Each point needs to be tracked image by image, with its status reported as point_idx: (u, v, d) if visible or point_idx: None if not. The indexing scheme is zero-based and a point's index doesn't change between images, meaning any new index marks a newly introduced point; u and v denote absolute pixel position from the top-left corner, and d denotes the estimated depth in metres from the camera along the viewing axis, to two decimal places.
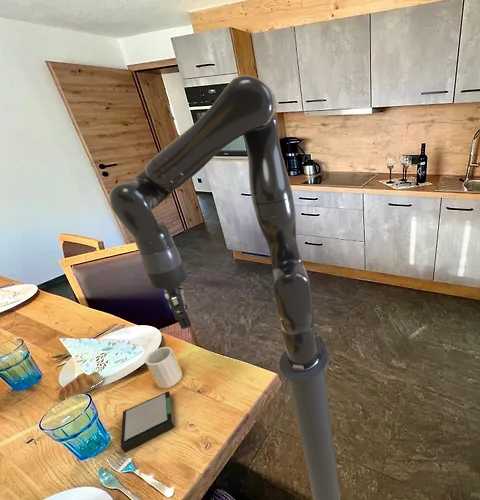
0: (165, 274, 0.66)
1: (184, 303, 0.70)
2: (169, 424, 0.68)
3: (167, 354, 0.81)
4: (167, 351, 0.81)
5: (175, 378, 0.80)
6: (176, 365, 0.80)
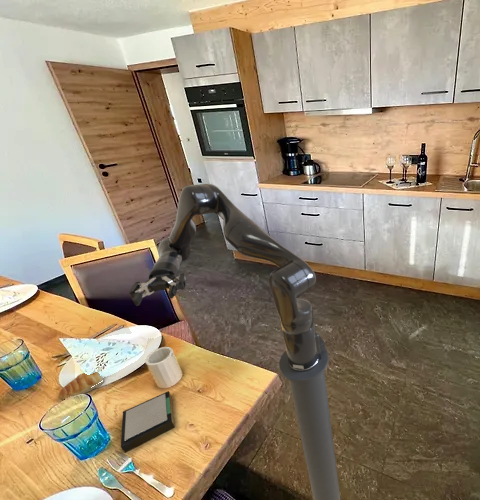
0: None
1: None
2: (169, 424, 0.68)
3: (167, 354, 0.81)
4: (167, 351, 0.81)
5: (175, 378, 0.80)
6: (176, 365, 0.80)
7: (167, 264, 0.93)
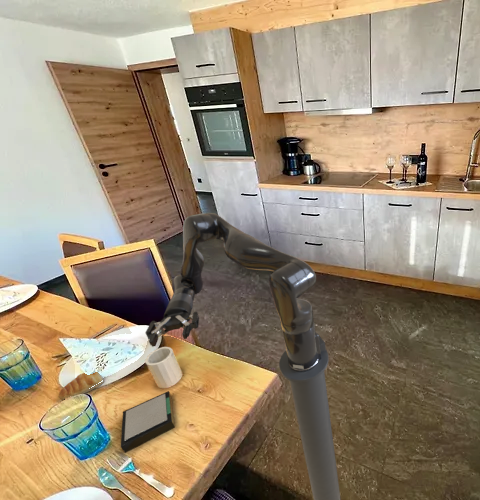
0: None
1: None
2: (169, 424, 0.68)
3: (167, 354, 0.81)
4: (167, 351, 0.81)
5: (175, 378, 0.80)
6: (176, 365, 0.80)
7: (181, 302, 0.97)
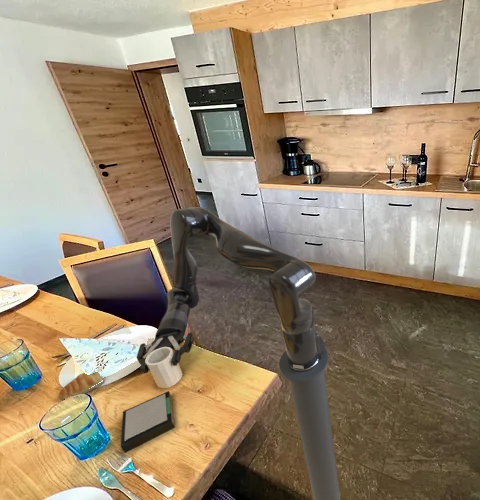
0: None
1: None
2: (169, 424, 0.68)
3: (167, 354, 0.81)
4: (167, 351, 0.81)
5: (175, 378, 0.80)
6: (176, 365, 0.80)
7: (174, 321, 0.89)
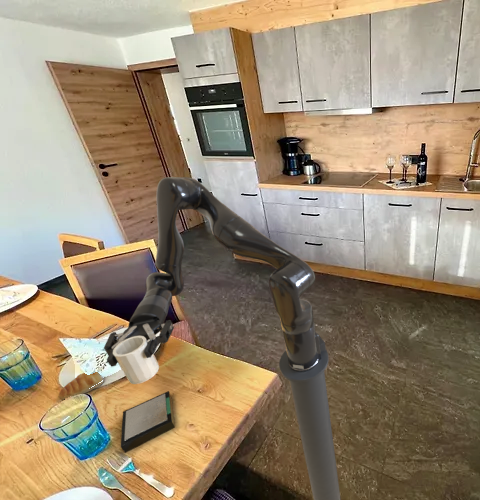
0: None
1: None
2: (169, 424, 0.68)
3: (141, 344, 0.70)
4: (140, 341, 0.69)
5: (149, 372, 0.69)
6: (150, 357, 0.69)
7: (152, 307, 0.77)
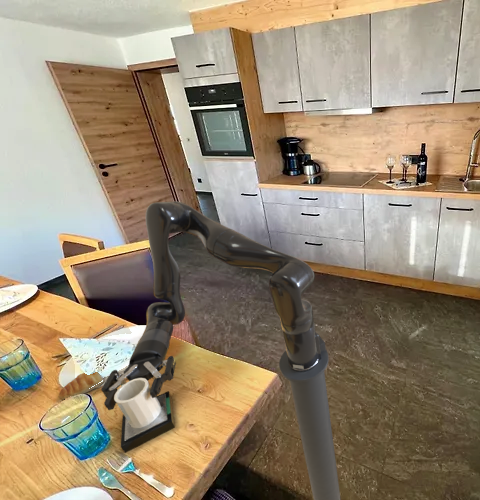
0: None
1: None
2: (169, 424, 0.68)
3: (142, 386, 0.69)
4: (142, 383, 0.68)
5: (151, 416, 0.67)
6: (152, 400, 0.67)
7: (153, 343, 0.76)
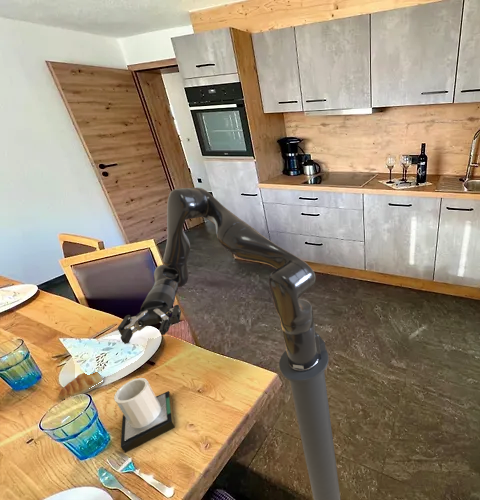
0: None
1: None
2: (169, 424, 0.68)
3: (142, 386, 0.69)
4: (142, 383, 0.68)
5: (151, 416, 0.67)
6: (152, 400, 0.67)
7: (161, 294, 0.86)
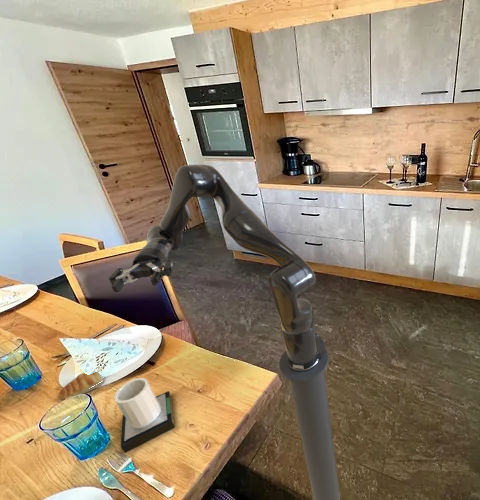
0: None
1: None
2: (169, 424, 0.68)
3: (142, 386, 0.69)
4: (142, 383, 0.68)
5: (151, 416, 0.67)
6: (152, 400, 0.67)
7: (153, 250, 0.86)
